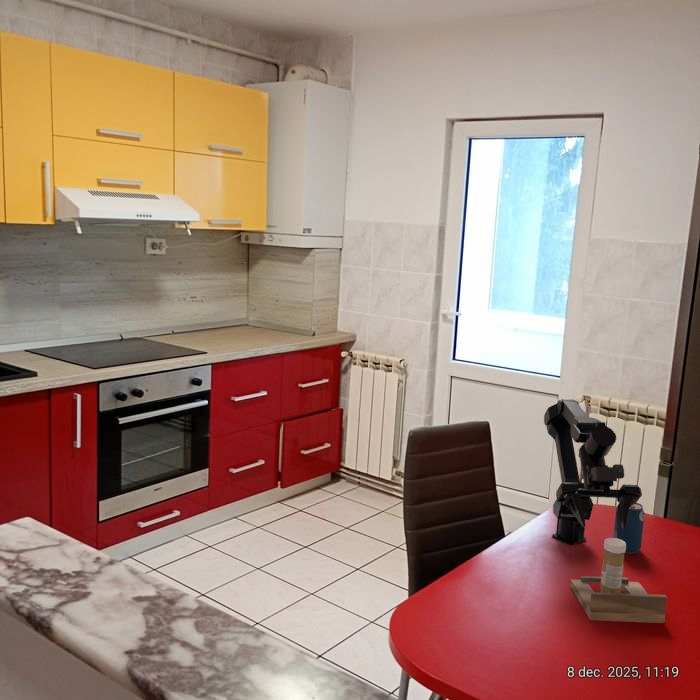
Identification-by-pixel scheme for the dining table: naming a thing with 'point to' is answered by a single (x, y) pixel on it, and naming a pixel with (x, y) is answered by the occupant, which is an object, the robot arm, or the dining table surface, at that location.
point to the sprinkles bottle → (612, 565)
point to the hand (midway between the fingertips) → (604, 527)
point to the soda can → (631, 528)
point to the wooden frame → (619, 602)
